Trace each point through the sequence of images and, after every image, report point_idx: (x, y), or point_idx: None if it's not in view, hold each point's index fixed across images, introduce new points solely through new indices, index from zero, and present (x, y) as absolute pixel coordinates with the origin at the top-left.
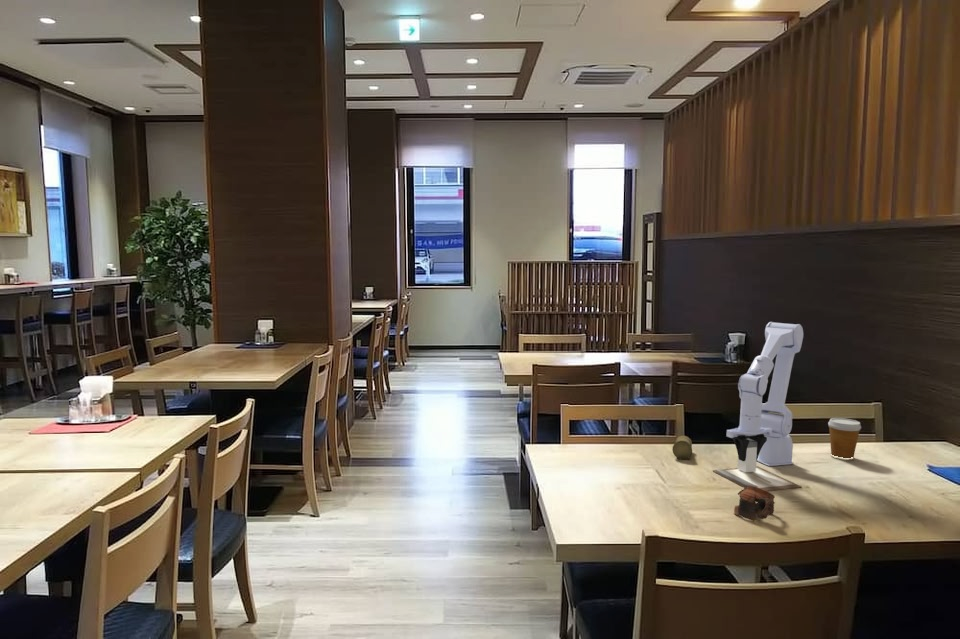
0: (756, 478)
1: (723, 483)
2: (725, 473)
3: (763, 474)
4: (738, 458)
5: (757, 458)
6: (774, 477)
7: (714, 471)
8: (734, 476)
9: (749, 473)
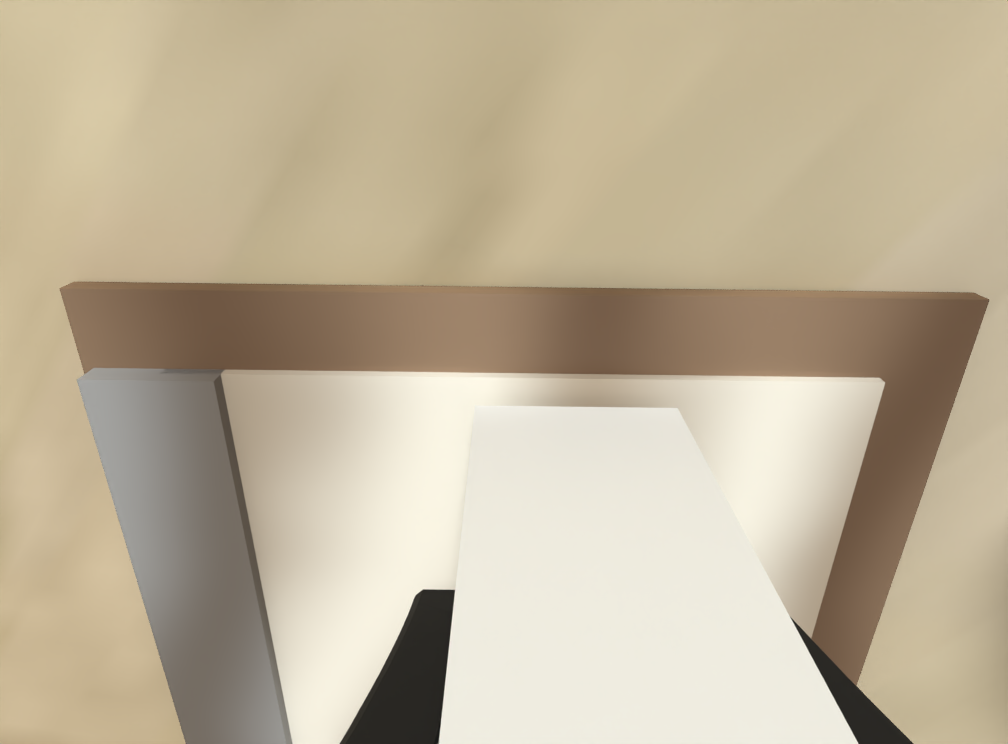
0: None
1: (43, 669)
2: (155, 530)
3: None
4: (461, 533)
5: None
6: None
7: (76, 330)
8: (223, 642)
9: None
